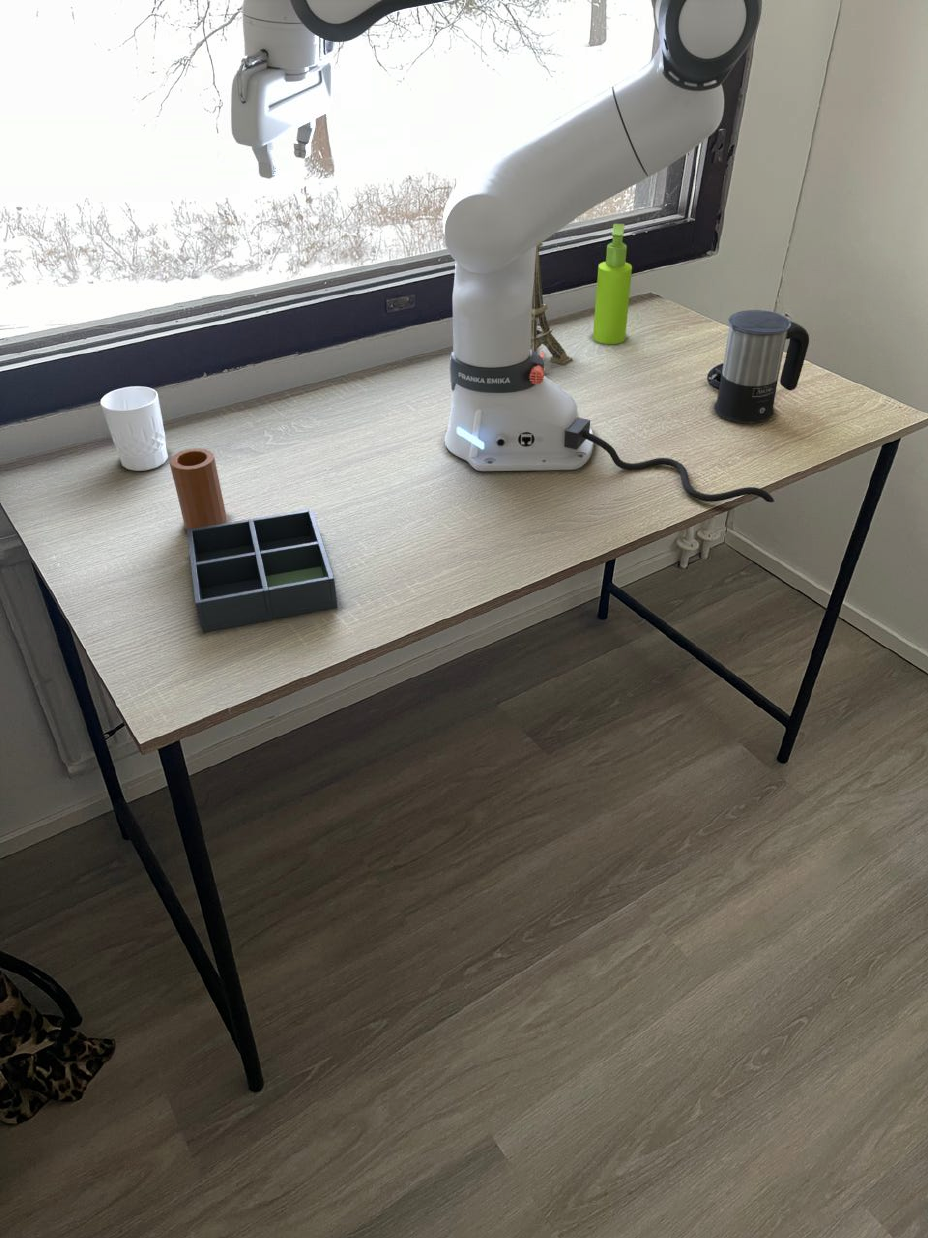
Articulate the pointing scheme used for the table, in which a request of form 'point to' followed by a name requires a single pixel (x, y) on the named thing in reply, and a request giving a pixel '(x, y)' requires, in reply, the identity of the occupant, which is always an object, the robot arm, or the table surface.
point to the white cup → (136, 427)
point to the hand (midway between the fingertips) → (285, 166)
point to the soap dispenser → (612, 292)
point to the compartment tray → (259, 570)
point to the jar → (198, 488)
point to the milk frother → (757, 364)
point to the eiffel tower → (543, 320)
